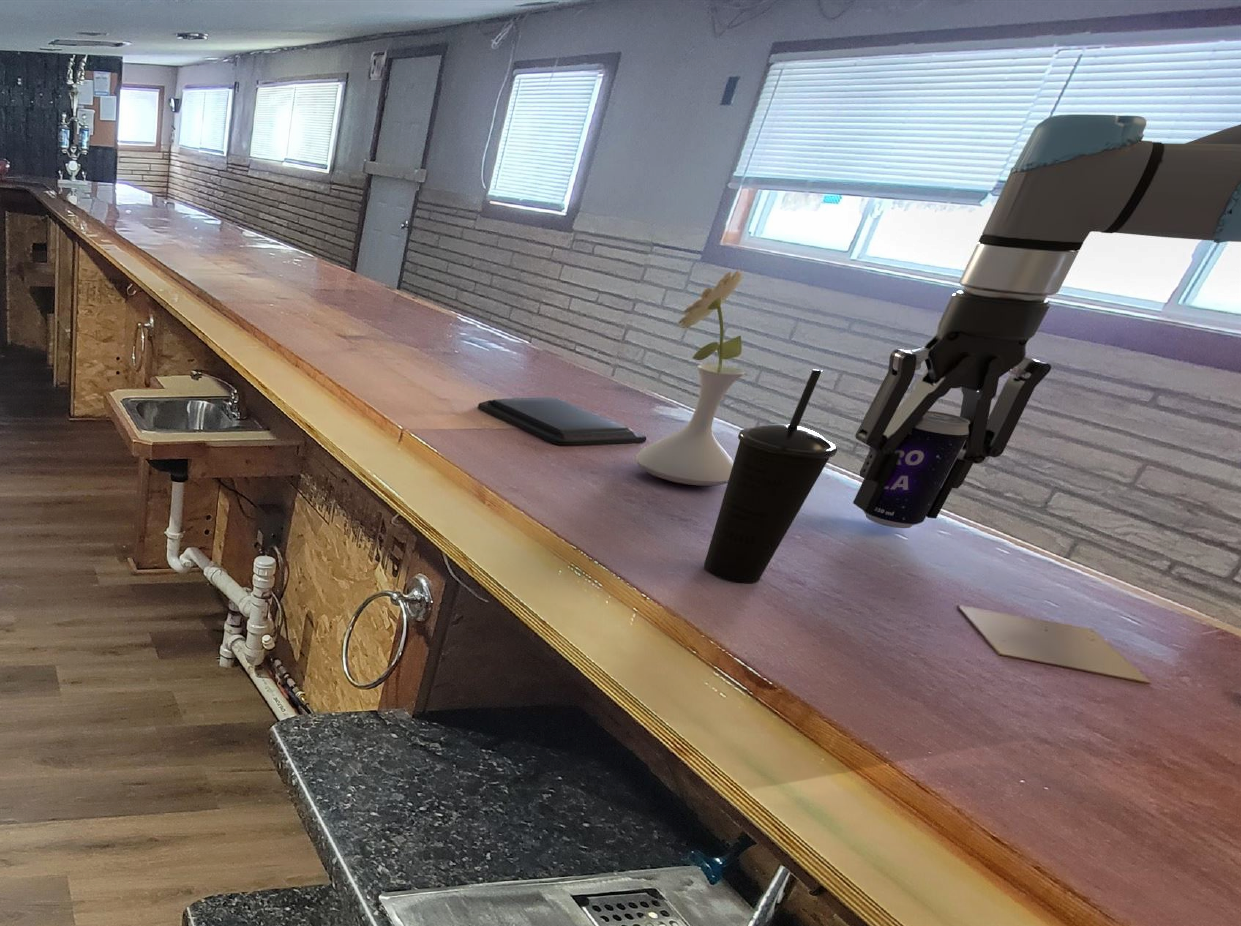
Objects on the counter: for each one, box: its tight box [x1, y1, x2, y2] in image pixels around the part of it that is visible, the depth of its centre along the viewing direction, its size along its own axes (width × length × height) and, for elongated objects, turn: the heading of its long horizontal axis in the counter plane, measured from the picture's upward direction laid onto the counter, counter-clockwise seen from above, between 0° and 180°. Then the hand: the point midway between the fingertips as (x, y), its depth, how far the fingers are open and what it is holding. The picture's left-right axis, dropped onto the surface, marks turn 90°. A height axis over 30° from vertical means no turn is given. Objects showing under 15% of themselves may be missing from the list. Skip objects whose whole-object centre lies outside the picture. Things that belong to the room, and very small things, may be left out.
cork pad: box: [956, 604, 1152, 684], centre depth 78 cm, size 10×10×1 cm
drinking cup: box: [703, 368, 838, 584], centre depth 83 cm, size 8×8×20 cm
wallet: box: [477, 397, 648, 446], centre depth 133 cm, size 20×2×15 cm
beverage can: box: [863, 410, 970, 529], centre depth 97 cm, size 6×6×12 cm
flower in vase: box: [634, 269, 746, 487], centre depth 107 cm, size 13×11×25 cm
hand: (893, 510), depth 100 cm, fingers closed on beverage can, 6 cm apart
